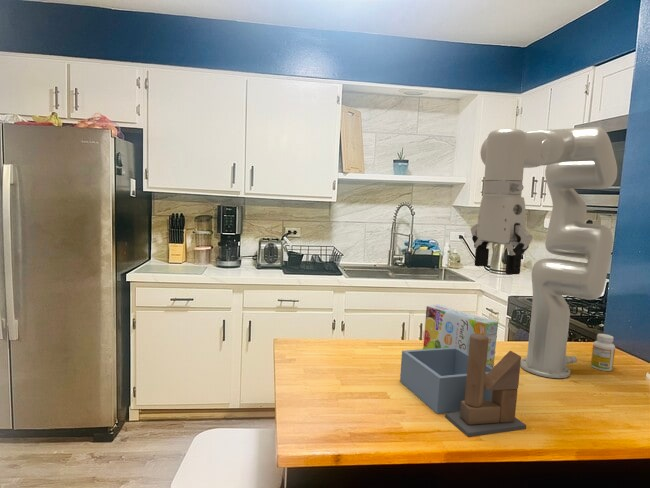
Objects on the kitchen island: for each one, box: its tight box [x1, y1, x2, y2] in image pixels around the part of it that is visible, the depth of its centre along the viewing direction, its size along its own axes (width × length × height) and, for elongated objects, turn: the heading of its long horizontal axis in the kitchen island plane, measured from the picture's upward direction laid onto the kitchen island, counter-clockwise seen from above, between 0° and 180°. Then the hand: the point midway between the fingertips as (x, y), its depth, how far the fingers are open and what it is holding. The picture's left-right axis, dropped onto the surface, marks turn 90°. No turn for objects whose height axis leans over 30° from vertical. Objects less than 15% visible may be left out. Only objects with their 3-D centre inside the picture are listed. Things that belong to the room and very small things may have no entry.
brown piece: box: [459, 334, 522, 425], centre depth 89 cm, size 4×11×18 cm, turn 102°
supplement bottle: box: [590, 333, 616, 372], centre depth 125 cm, size 5×5×10 cm
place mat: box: [444, 411, 527, 438], centre depth 90 cm, size 14×8×1 cm, turn 108°
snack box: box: [422, 304, 499, 367], centre depth 123 cm, size 21×6×15 cm, turn 34°
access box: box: [399, 347, 493, 415], centre depth 103 cm, size 16×17×8 cm
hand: (496, 269), depth 93 cm, fingers open, 9 cm apart
